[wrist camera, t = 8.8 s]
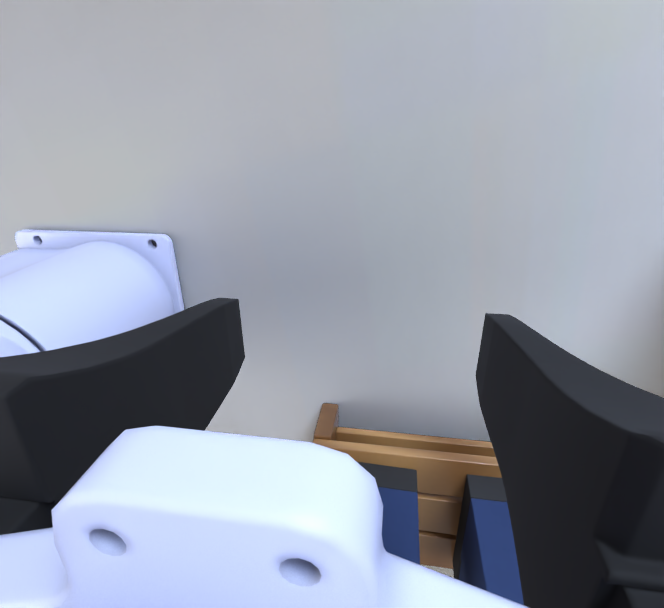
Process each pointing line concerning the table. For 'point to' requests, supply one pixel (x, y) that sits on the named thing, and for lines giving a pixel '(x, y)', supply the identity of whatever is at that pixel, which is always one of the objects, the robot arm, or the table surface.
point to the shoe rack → (418, 474)
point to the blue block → (398, 509)
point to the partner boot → (487, 540)
